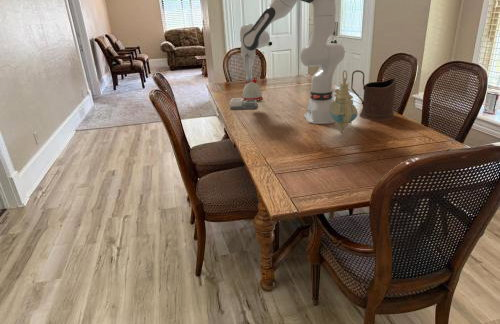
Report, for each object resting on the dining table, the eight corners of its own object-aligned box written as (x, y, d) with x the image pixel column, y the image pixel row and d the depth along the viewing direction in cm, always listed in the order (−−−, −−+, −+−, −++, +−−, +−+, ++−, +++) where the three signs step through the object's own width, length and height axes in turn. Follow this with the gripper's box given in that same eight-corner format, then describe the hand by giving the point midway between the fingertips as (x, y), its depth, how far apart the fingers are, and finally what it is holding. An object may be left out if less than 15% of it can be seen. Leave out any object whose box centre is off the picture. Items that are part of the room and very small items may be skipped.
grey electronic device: (254, 109, 216) (254, 101, 214) (230, 109, 218) (229, 102, 217) (257, 104, 227) (257, 97, 225) (233, 104, 229) (233, 97, 227)
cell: (251, 81, 213) (251, 67, 210) (245, 81, 214) (244, 67, 210) (252, 80, 217) (252, 66, 213) (246, 80, 217) (246, 66, 214)
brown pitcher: (397, 121, 181) (403, 72, 171) (350, 120, 186) (353, 73, 176) (391, 111, 198) (396, 66, 188) (348, 111, 203) (351, 67, 192)
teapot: (323, 125, 180) (326, 67, 167) (345, 124, 180) (349, 65, 168) (336, 141, 158) (339, 75, 146) (360, 140, 158) (366, 74, 146)
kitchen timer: (261, 100, 236) (261, 78, 230) (242, 101, 237) (240, 79, 231) (261, 95, 249) (261, 74, 243) (242, 96, 250) (241, 75, 244)
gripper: (250, 55, 198) (251, 79, 204) (255, 50, 217) (256, 72, 222) (240, 55, 199) (241, 79, 205) (245, 50, 218) (246, 73, 223)
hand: (249, 75), depth 214 cm, fingers closed on cell, 4 cm apart
